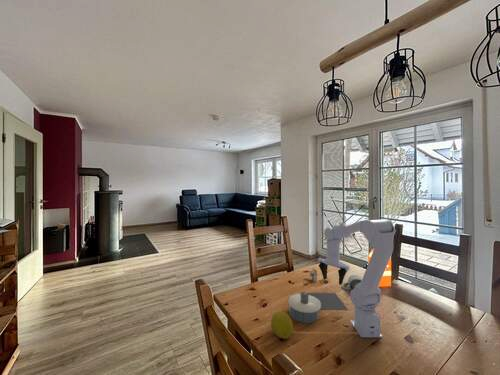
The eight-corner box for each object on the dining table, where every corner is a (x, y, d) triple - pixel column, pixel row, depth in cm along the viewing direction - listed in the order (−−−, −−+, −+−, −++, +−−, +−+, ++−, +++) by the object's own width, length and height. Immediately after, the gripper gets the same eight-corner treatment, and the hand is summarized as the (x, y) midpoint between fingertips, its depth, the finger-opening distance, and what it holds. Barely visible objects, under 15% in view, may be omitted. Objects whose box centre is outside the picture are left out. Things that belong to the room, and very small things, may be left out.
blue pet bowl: (321, 324, 89) (321, 312, 89) (292, 324, 89) (292, 311, 89) (313, 307, 101) (313, 297, 101) (287, 307, 101) (287, 296, 101)
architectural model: (311, 283, 126) (311, 270, 126) (307, 278, 133) (307, 266, 133) (317, 283, 126) (317, 270, 126) (312, 278, 133) (312, 266, 133)
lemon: (295, 345, 78) (295, 322, 78) (273, 345, 78) (273, 322, 78) (289, 325, 89) (289, 305, 88) (270, 325, 89) (270, 305, 88)
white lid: (325, 312, 89) (325, 302, 88) (291, 312, 89) (291, 302, 88) (315, 295, 102) (315, 286, 102) (285, 295, 102) (286, 286, 102)
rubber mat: (347, 311, 98) (347, 309, 98) (314, 310, 99) (314, 309, 99) (335, 294, 113) (335, 292, 113) (305, 293, 114) (305, 292, 114)
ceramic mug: (362, 287, 120) (362, 273, 120) (365, 295, 112) (365, 280, 112) (341, 285, 123) (341, 271, 123) (343, 292, 116) (342, 277, 115)
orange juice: (367, 280, 129) (367, 246, 129) (381, 280, 130) (382, 246, 130) (376, 287, 121) (376, 250, 121) (391, 286, 122) (391, 250, 122)
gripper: (352, 254, 102) (351, 283, 102) (322, 247, 112) (322, 274, 113) (345, 258, 97) (345, 288, 97) (315, 250, 107) (315, 278, 108)
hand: (332, 281), depth 105 cm, fingers open, 7 cm apart
